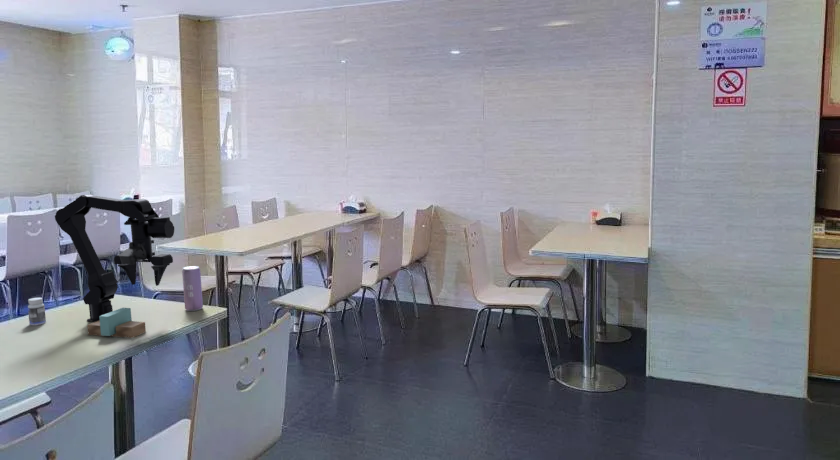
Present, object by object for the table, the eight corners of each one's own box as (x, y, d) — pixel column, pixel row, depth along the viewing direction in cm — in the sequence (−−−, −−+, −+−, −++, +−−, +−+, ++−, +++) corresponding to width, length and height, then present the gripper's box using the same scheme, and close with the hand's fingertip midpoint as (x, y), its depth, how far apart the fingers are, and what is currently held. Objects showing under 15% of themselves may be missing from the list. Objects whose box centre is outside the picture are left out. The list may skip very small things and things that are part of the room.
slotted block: (88, 334, 195) (87, 324, 195) (102, 329, 201) (101, 319, 201) (132, 337, 191) (131, 327, 191) (145, 331, 197) (145, 321, 197)
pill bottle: (26, 324, 208) (23, 300, 207) (39, 321, 213) (36, 296, 212) (36, 326, 207) (33, 301, 206) (49, 322, 211) (46, 297, 210)
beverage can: (205, 307, 226) (202, 265, 224) (198, 311, 220) (195, 269, 218) (189, 307, 226) (186, 265, 224) (182, 311, 221) (178, 269, 219)
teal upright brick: (101, 335, 192) (99, 316, 191) (124, 326, 201) (122, 307, 200) (109, 335, 191) (107, 316, 190) (132, 326, 201) (130, 308, 200)
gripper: (99, 241, 201) (103, 289, 203) (149, 242, 196) (153, 291, 198) (124, 236, 212) (128, 281, 214) (172, 237, 207) (175, 283, 209)
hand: (145, 285), depth 209 cm, fingers open, 9 cm apart
